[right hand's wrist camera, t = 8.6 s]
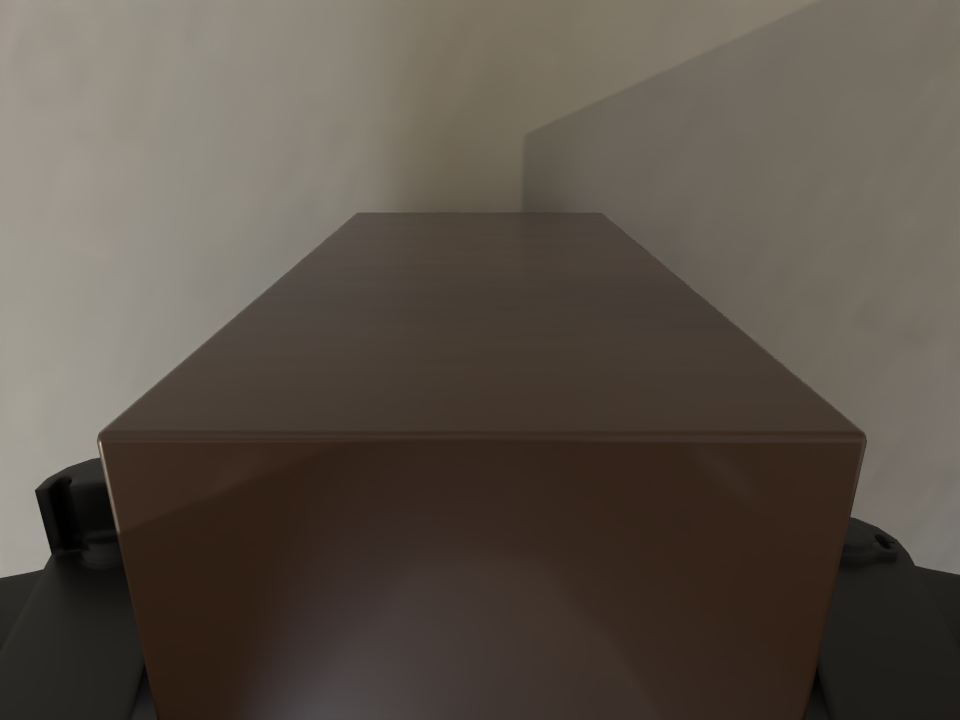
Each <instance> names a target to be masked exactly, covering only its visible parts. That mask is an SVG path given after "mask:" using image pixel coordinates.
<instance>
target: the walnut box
mask: <svg viewBox="0 0 960 720" xmlns="http://www.w3.org/2000/svg"><path fill="white" fill-rule="evenodd" d="M866 443H867V441H866V436H865V433H864V432H863V431H862V430H860V429H859V428H858V427H857V426H856V425H854V424H853V423H852V422H851V421H850V420H848V419H847V418H846V417H845V416H844V415H842V414H841V413H840V412H839V411H838V410H836V409H835V408H834V407H833V406H832V405H830V404H829V403H828V402H827V401H826V400H824V399H823V398H822V397H821V396H820V395H818V394H817V393H816V392H815V391H814V390H813V389H811V388H810V387H809V386H808V385H807V384H805V383H804V382H803V381H802V380H801V379H799V378H798V377H797V376H796V375H795V374H793V373H792V372H791V371H790V370H789V369H787V368H786V367H785V366H784V365H783V364H781V363H780V362H779V361H778V360H777V359H775V358H774V357H773V356H772V355H771V354H769V353H768V352H767V351H766V350H765V349H763V348H762V347H761V346H760V345H759V344H758V343H756V342H755V341H754V340H753V339H752V338H750V337H749V336H748V335H747V334H746V333H744V332H743V331H742V330H741V329H740V328H738V327H737V326H736V325H735V324H734V323H732V322H731V321H730V320H729V319H728V318H726V317H725V316H724V315H723V314H722V313H720V312H719V311H718V310H717V309H716V308H714V307H713V306H712V305H711V304H710V303H708V302H707V301H706V300H705V299H704V298H703V297H701V296H700V295H699V294H698V293H697V292H695V291H694V290H693V289H692V288H691V287H689V286H688V285H687V284H686V283H685V282H683V281H682V280H681V279H680V278H679V277H677V276H676V275H675V274H674V273H673V272H671V271H670V270H669V269H668V268H667V267H665V266H664V265H663V264H662V263H661V262H659V261H658V260H657V259H656V258H655V257H653V256H652V255H651V254H650V253H649V252H648V251H646V250H645V249H644V248H643V247H642V246H640V245H639V244H638V243H637V242H636V241H634V240H633V239H632V238H631V237H630V236H628V235H627V234H626V233H625V232H624V231H622V230H621V229H620V228H619V227H618V226H616V225H615V224H614V223H613V222H612V221H610V220H609V219H608V218H607V217H606V216H604V215H603V214H602V213H357V214H355V215H354V216H353V217H352V218H351V219H349V220H348V221H347V222H346V223H345V224H344V225H342V226H341V227H340V228H339V229H338V230H337V231H335V232H334V233H333V234H332V235H331V236H330V237H328V238H327V239H326V240H325V241H324V242H323V243H321V244H320V245H319V246H318V247H317V248H315V249H314V250H313V251H312V252H311V253H310V254H308V255H307V256H306V257H305V258H304V259H303V260H301V261H300V262H299V263H298V264H297V265H296V266H294V267H293V268H292V269H291V270H290V271H288V272H287V273H286V274H285V275H284V276H283V277H281V278H280V279H279V280H278V281H277V282H276V283H274V284H273V285H272V286H271V287H270V288H269V289H267V290H266V291H265V292H264V293H263V294H261V295H260V296H259V297H258V298H257V299H256V300H254V301H253V302H252V303H251V304H250V305H249V306H247V307H246V308H245V309H244V310H243V311H242V312H240V313H239V314H238V315H237V316H236V317H234V318H233V319H232V320H231V321H230V322H229V323H227V324H226V325H225V326H224V327H223V328H222V329H220V330H219V331H218V332H217V333H216V334H215V335H213V336H212V337H211V338H210V339H209V340H207V341H206V342H205V343H204V344H203V345H202V346H200V347H199V348H198V349H197V350H196V351H195V352H193V353H192V354H191V355H190V356H189V357H188V358H186V359H185V360H184V361H183V362H182V363H180V364H179V365H178V366H177V367H176V368H175V369H173V370H172V371H171V372H170V373H169V374H168V375H166V376H165V377H164V378H163V379H162V380H161V381H159V382H158V383H157V384H156V385H155V386H154V387H152V388H151V389H150V390H149V391H148V392H146V393H145V394H144V395H143V396H142V397H141V398H139V399H138V400H137V401H136V402H135V403H134V404H132V405H131V406H130V407H129V408H128V409H127V410H125V411H124V412H123V413H122V414H121V415H119V416H118V417H117V418H116V419H115V420H114V421H112V422H111V423H110V424H109V425H108V426H107V427H105V428H104V429H103V430H102V431H101V432H100V433H99V435H98V439H97V444H98V448H99V453H100V458H101V462H102V467H103V472H104V476H105V481H106V485H107V490H108V495H109V499H110V504H111V508H112V513H113V518H114V522H115V527H116V532H117V536H118V541H119V545H120V550H121V555H122V559H123V564H124V568H125V573H126V578H127V582H128V587H129V592H130V596H131V601H132V605H133V610H134V615H135V619H136V624H137V629H138V633H139V638H140V642H141V647H142V652H143V656H144V661H145V665H146V670H147V675H148V679H149V684H150V689H151V693H152V698H153V702H154V707H155V712H156V716H157V720H805V717H806V713H807V708H808V704H809V699H810V695H811V690H812V686H813V681H814V677H815V672H816V668H817V663H818V659H819V654H820V650H821V645H822V641H823V636H824V632H825V627H826V623H827V618H828V614H829V609H830V605H831V600H832V596H833V591H834V587H835V582H836V578H837V573H838V569H839V564H840V560H841V555H842V551H843V546H844V542H845V537H846V533H847V528H848V524H849V519H850V515H851V510H852V506H853V501H854V497H855V492H856V488H857V483H858V479H859V474H860V470H861V465H862V461H863V457H864V452H865V448H866Z"/></svg>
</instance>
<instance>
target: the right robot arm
mask: <svg viewBox="0 0 960 720" xmlns="http://www.w3.org/2000/svg"><path fill="white" fill-rule="evenodd" d="M35 493H36V497H37V500H38V504H39V508H40V512H41V515H42V519H43V523H44V527H45V531H46V534H47V538H48V542H49V546H50V549H51V553H52V555H51V557H50V558H49V560H48V562H47V564H46V566H45V568H44V569H43V570H39V571H35V572H30V573H25V574H20V575H14V576H9V577H4V578H0V720H157V716H156V712H155V707H154V702H153V698H152V693H151V689H150V684H149V679H148V675H147V670H146V665H145V661H144V656H143V652H142V647H141V642H140V638H139V633H138V629H137V624H136V619H135V615H134V610H133V605H132V601H131V596H130V592H129V587H128V582H127V578H126V573H125V568H124V564H123V559H122V555H121V550H120V545H119V541H118V536H117V532H116V527H115V522H114V518H113V513H112V508H111V504H110V499H109V495H108V490H107V485H106V481H105V476H104V472H103V467H102V462H101V458H96V459H91V460H88V461H85V462H82V463H79V464H76V465H73V466H70V467H67V468H66V469H64V470H62V471H60V472H58V473H56V474H55V475H53V476H51V477H49V478H47V479H46V480H45V481H44V482H43V483H42V484H41V485H40V486H39V487H38V488H37V489H36V490H35ZM805 720H960V575H957V574H952V573H947V572H941V571H936V570H931V569H926V568H922V567H918V566H915V565H914V563H913V561H912V559H911V557H910V555H909V553H908V552H907V551H906V550H905V549H904V548H903V547H902V545H901V544H900V543H899V542H898V541H897V540H896V539H895V538H893V537H892V536H890V535H889V534H887V533H886V532H884V531H882V530H881V529H879V528H878V527H875V526H873V525H870V524H868V523H865V522H863V521H860V520H858V519H856V518H851V517H850V519H849V524H848V528H847V533H846V537H845V542H844V546H843V551H842V555H841V560H840V564H839V569H838V573H837V578H836V582H835V587H834V591H833V596H832V600H831V605H830V609H829V614H828V618H827V623H826V627H825V632H824V636H823V641H822V645H821V650H820V654H819V659H818V663H817V668H816V672H815V677H814V681H813V686H812V690H811V695H810V699H809V704H808V708H807V713H806V717H805Z"/></svg>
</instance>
